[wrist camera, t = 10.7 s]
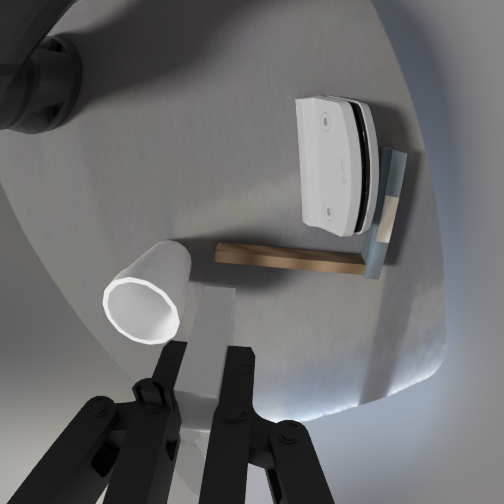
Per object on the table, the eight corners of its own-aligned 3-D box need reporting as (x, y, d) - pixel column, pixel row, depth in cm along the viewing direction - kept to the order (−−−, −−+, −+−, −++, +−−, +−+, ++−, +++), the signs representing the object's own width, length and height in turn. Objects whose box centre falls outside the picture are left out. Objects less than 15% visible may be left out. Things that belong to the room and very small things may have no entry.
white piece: (294, 96, 34) (339, 91, 25) (329, 95, 35) (378, 93, 26) (302, 224, 41) (342, 255, 32) (333, 218, 42) (376, 246, 33)
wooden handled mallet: (218, 251, 44) (213, 266, 40) (223, 127, 36) (217, 129, 32) (371, 265, 43) (379, 280, 39) (395, 148, 36) (408, 153, 32)
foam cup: (131, 264, 45) (93, 314, 34) (158, 217, 42) (118, 261, 30) (183, 297, 47) (159, 355, 36) (214, 254, 44) (194, 310, 32)
